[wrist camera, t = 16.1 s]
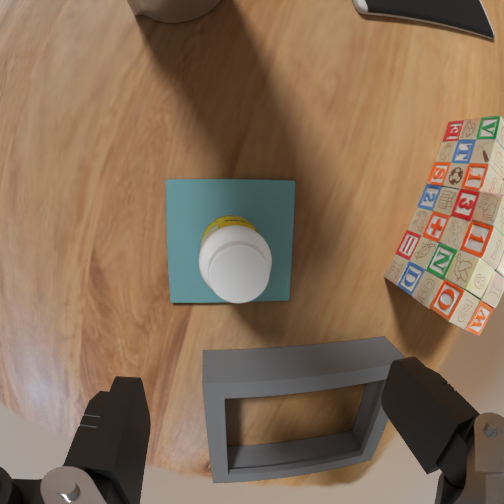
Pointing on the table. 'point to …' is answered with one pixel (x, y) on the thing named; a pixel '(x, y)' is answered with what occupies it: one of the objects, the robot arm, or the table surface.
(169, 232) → the mat
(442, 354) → the table surface
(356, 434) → the box
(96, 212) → the table surface
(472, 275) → the stack of blocks
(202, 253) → the supplement bottle
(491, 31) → the smartphone
